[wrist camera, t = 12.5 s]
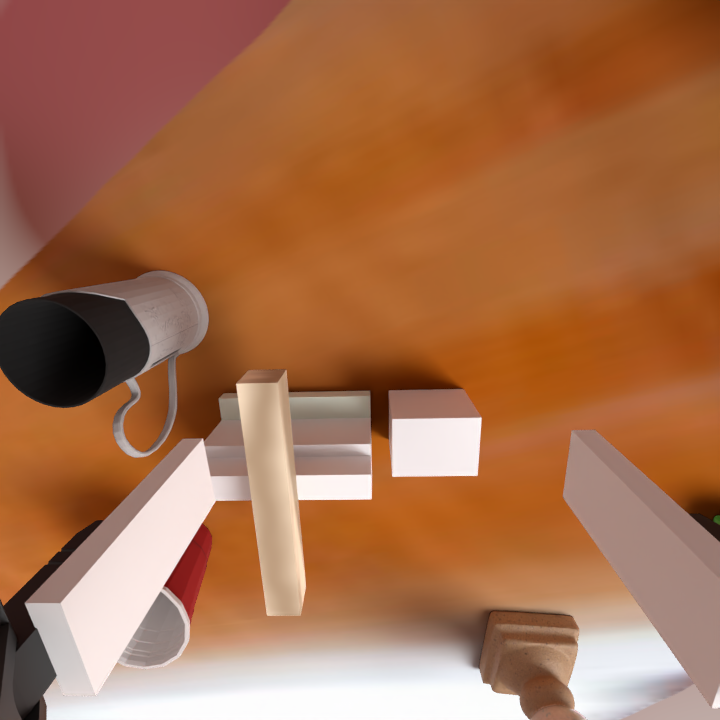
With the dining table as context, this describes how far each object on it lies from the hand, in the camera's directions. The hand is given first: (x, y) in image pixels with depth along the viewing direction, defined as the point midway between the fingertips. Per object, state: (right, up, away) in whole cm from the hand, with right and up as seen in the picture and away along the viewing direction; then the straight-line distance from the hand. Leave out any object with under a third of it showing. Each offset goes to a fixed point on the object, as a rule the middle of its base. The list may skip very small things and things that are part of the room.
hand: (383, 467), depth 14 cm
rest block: (+6, -2, +28) cm, 29 cm away
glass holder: (-20, +6, +27) cm, 34 cm away
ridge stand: (-8, -4, +29) cm, 31 cm away
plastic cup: (-22, -18, +34) cm, 45 cm away
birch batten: (-8, -7, +20) cm, 22 cm away
